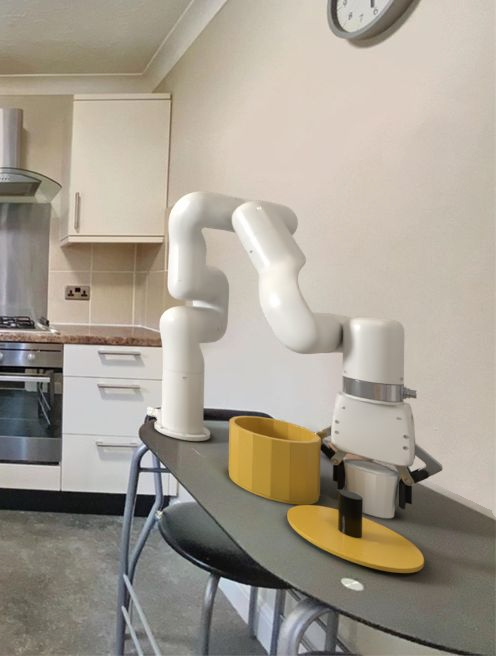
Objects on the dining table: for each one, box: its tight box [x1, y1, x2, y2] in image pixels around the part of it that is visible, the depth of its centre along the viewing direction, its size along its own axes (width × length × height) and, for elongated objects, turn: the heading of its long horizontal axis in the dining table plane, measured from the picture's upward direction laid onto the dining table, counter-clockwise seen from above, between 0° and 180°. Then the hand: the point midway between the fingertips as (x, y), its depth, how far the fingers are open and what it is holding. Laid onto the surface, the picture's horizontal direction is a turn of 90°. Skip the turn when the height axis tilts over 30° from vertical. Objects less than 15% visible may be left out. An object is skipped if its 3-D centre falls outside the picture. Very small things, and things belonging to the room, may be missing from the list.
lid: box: [286, 489, 425, 574], centre depth 58 cm, size 15×15×7 cm
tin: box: [227, 415, 322, 506], centre depth 75 cm, size 14×14×10 cm
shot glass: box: [344, 459, 401, 519], centre depth 68 cm, size 7×7×7 cm
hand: (370, 495), depth 68 cm, fingers closed on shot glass, 6 cm apart
